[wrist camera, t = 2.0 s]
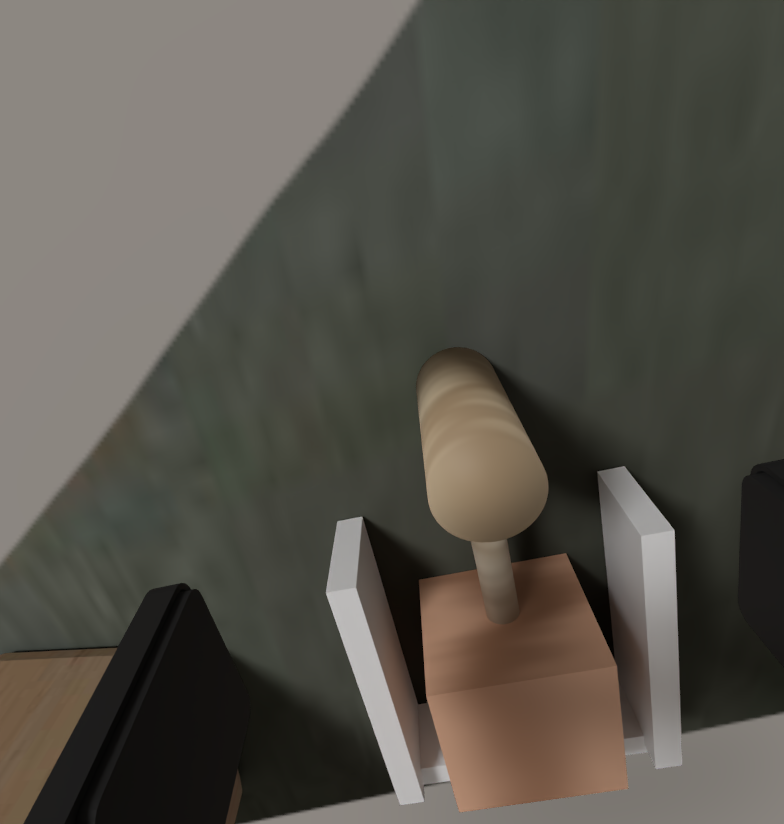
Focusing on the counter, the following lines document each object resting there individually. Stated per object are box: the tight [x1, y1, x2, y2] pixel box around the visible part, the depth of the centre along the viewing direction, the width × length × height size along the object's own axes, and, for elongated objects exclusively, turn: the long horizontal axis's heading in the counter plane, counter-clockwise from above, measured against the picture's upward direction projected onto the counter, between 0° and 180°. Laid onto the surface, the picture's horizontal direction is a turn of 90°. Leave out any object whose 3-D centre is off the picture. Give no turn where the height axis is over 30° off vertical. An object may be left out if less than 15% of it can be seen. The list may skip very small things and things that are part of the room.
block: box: [416, 347, 628, 812], centre depth 19 cm, size 6×15×7 cm, turn 13°
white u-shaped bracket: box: [326, 466, 682, 805], centre depth 21 cm, size 11×12×4 cm
